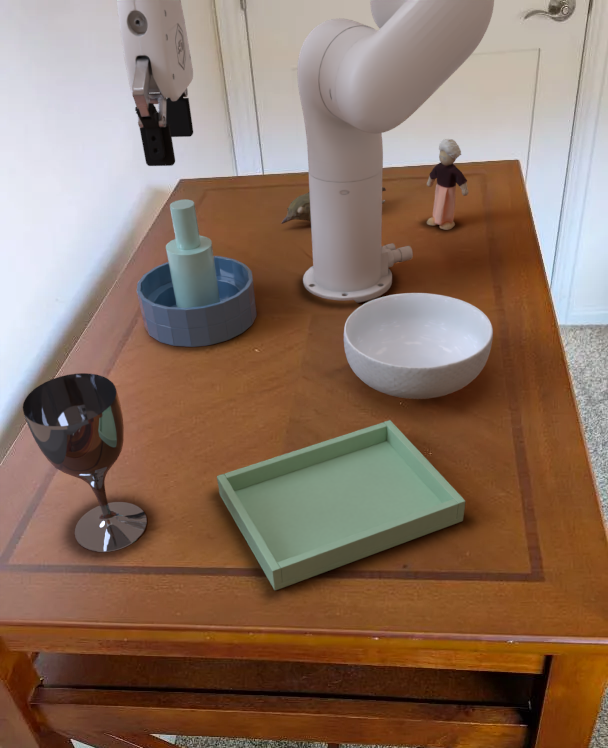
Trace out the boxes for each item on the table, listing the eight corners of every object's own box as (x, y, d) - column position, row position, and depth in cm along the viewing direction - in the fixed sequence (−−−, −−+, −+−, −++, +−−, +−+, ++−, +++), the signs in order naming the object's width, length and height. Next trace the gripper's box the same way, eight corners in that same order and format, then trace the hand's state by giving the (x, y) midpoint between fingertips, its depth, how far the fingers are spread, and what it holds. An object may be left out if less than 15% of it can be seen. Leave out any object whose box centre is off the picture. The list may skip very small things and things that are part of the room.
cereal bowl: (470, 433, 83) (477, 376, 78) (325, 409, 88) (322, 354, 83) (498, 352, 94) (505, 299, 89) (368, 335, 99) (368, 283, 94)
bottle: (214, 303, 106) (197, 191, 96) (228, 321, 102) (212, 207, 92) (173, 313, 105) (152, 201, 94) (187, 332, 101) (165, 217, 90)
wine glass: (75, 503, 79) (30, 377, 68) (153, 496, 79) (120, 369, 68) (65, 559, 73) (14, 431, 62) (148, 550, 73) (112, 421, 63)
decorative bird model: (275, 226, 125) (272, 195, 122) (381, 198, 131) (381, 167, 128) (289, 237, 122) (287, 205, 118) (397, 208, 128) (397, 177, 124)
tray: (389, 439, 83) (390, 419, 81) (463, 521, 74) (465, 500, 72) (219, 495, 78) (216, 475, 76) (274, 591, 69) (272, 571, 67)
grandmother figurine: (416, 225, 122) (420, 139, 114) (427, 216, 125) (432, 131, 116) (460, 234, 119) (467, 147, 110) (471, 225, 121) (479, 139, 112)
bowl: (234, 287, 111) (228, 246, 107) (273, 333, 101) (269, 290, 97) (133, 313, 107) (124, 272, 103) (164, 363, 97) (155, 320, 93)
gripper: (157, -20, 70) (187, 176, 82) (196, -49, 82) (216, 125, 94) (78, -16, 71) (119, 178, 83) (128, -46, 83) (157, 126, 95)
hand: (171, 149), depth 88 cm, fingers open, 9 cm apart
